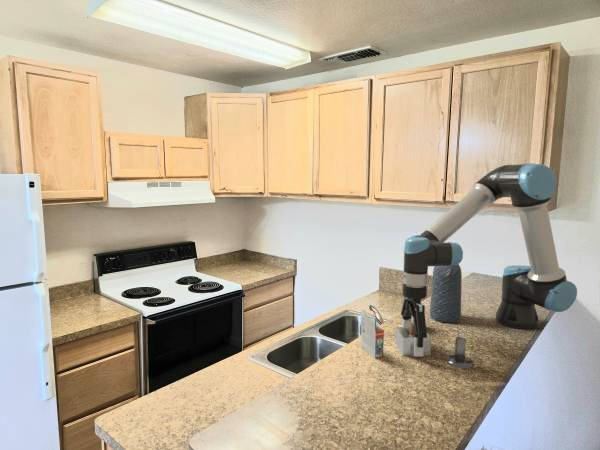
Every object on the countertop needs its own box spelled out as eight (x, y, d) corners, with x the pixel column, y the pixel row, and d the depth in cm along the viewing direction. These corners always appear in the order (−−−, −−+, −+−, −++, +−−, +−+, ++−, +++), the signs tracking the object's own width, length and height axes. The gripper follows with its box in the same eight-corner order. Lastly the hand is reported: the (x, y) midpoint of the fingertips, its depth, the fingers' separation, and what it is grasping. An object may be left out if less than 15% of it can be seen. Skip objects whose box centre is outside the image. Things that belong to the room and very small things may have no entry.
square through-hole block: (421, 343, 132) (422, 326, 131) (430, 355, 123) (431, 337, 122) (395, 343, 132) (396, 326, 131) (402, 355, 123) (403, 337, 122)
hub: (466, 359, 122) (467, 333, 121) (477, 371, 115) (478, 344, 114) (442, 359, 122) (443, 334, 121) (452, 371, 115) (453, 344, 114)
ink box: (369, 349, 130) (370, 307, 128) (383, 359, 123) (385, 315, 121) (360, 351, 128) (361, 309, 126) (374, 361, 121) (375, 317, 119)
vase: (431, 311, 166) (434, 247, 163) (461, 315, 161) (464, 249, 158) (427, 320, 156) (430, 252, 152) (460, 325, 150) (463, 255, 147)
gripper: (393, 274, 137) (391, 331, 140) (415, 296, 112) (412, 364, 115) (414, 275, 137) (411, 331, 140) (440, 296, 112) (436, 364, 115)
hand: (412, 346), depth 127 cm, fingers open, 13 cm apart
